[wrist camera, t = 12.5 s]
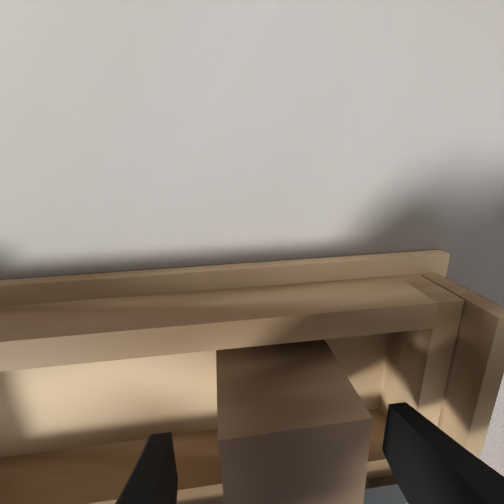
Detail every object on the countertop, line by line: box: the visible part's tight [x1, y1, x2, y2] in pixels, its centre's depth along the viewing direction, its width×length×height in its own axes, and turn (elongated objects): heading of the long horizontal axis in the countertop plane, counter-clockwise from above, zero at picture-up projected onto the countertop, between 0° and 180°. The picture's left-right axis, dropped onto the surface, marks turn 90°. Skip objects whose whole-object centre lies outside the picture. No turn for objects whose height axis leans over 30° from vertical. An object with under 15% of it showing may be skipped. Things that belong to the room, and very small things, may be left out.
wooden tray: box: [0, 250, 504, 504], centre depth 13 cm, size 19×23×4 cm
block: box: [216, 339, 372, 504], centre depth 10 cm, size 4×4×5 cm
